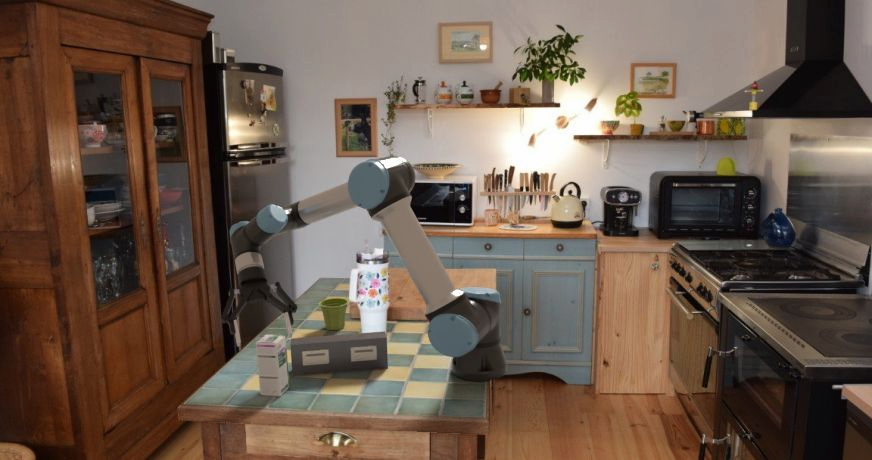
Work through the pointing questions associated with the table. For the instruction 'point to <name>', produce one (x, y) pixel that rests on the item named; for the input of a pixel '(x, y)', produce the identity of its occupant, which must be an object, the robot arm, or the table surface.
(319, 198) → the robot arm
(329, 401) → the table surface
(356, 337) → the box
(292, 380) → the table surface
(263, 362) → the syrup box
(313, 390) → the table surface
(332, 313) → the plant pot
